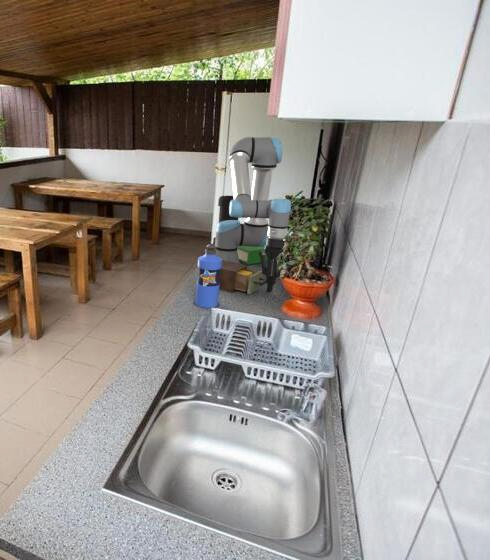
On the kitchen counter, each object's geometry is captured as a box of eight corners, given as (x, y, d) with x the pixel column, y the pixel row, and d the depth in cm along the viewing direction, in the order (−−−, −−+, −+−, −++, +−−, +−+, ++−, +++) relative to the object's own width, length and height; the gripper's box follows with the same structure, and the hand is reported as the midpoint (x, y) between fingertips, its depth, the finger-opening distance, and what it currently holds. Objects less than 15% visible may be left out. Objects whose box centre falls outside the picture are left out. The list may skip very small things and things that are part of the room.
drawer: (270, 289, 188) (272, 273, 185) (259, 296, 179) (261, 279, 177) (233, 280, 198) (234, 264, 196) (221, 287, 190) (222, 270, 188)
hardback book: (226, 243, 238) (257, 239, 249) (225, 255, 240) (256, 251, 251) (249, 251, 223) (281, 246, 234) (247, 264, 226) (279, 259, 237)
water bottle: (195, 298, 179) (200, 240, 171) (218, 300, 177) (223, 242, 169) (194, 306, 170) (198, 246, 162) (217, 309, 168) (223, 247, 160)
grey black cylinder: (226, 240, 278) (230, 194, 269) (245, 246, 265) (250, 197, 255) (207, 243, 271) (210, 196, 261) (225, 249, 257) (230, 199, 247)
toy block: (239, 282, 193) (240, 269, 191) (250, 285, 190) (252, 272, 188) (233, 285, 189) (235, 272, 187) (245, 288, 186) (246, 275, 184)
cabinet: (245, 285, 196) (247, 265, 192) (232, 292, 187) (234, 271, 183) (217, 278, 205) (218, 259, 201) (203, 284, 196) (205, 264, 192)
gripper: (257, 236, 176) (251, 289, 183) (289, 241, 168) (281, 297, 175) (264, 233, 181) (258, 285, 189) (295, 238, 173) (287, 292, 181)
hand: (269, 291), depth 182 cm, fingers closed
